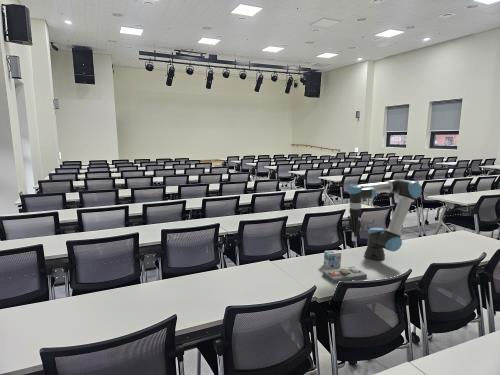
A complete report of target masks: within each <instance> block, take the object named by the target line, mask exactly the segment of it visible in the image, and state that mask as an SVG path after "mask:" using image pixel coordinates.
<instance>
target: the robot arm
mask: <svg viewBox="0 0 500 375" xmlns="http://www.w3.org/2000/svg"><path fill="white" fill-rule="evenodd" d="M346 191H347V193H348V194H349V209H348V210H349V212H348V213H349V215H347V220H348V228H349V230H350V231H351V241H352V242H356V241H357V237H358V233H360V231H361V226H362V222H363V219H361V217H360V216H361V214H362V200H366V199H374V198H375V197H376V196H377V194H380V193H387V194H391V193H392V194H397V196H398V201H397V204H396V206H395V209H394V212H393V214H392V216H391V219H390V222H389V225H388V227H387V228H386V229H385V228H383V227H371V228H369V229H368V233H367V246H366V248H365V251H364V257H365V258H367V259H369V260H372V261H383V260H385V258H386V254H385V250H386V251H389V252H397V251H398V250H400V249H401V247H402V245H403V240H402V238H401V237H402V234H401V231H402V228H403V225H404V222H405V220H406V217H407V216H408V212H409V209H410V208H411V204H412V203H413V202H415V201H416V199H417V198H419V197H421V195H422V191H423V190H422V186H421V184H420V183H419V182H417V181H414V180H408V179H407V180H406V179H401V178H399V179H398V178H397V179H391V180H386V181H384V182H382V181H381V182H374V183H373V182H372V183H364V184H354V183H353V184H349V185H348V186H347V187H346Z"/></svg>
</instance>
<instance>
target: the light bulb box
mask: <svg viewBox="0 0 500 375" xmlns="http://www.w3.org/2000/svg"><path fill="white" fill-rule="evenodd" d="M323 253H324V254H323V255H324V256H323V266H324V267H325V268H327V269H331V268H340V267H341V265H342V264H341V261H342V252H340V251H339V250H338V249H334V250H324V252H323Z"/></svg>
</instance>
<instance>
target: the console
mask: <svg viewBox="0 0 500 375" xmlns="http://www.w3.org/2000/svg"><path fill="white" fill-rule="evenodd" d="M346 267H347V266H346ZM347 268H349V273H348V274H342V273H341V268H340V267H339V268H335V269H329V270H327V269H326V270H323V271H322V276H324V277H325V278H326V279H327V280H329V281H330V282H331V283H333V284H334V285H335V284H337V285H338V284H339V283H338V282H339V281H349V282H353V281H352V280H355V281H361V280H366V279H368V278H367V274H368V273H365V272H364V271H361V269H359V273H353V272H351V270H352V268H357V267H355V266H353V265H352V266H348V267H347ZM331 271H335V272H337V273H338V276H334V277H332V276H331V275H330V272H331Z"/></svg>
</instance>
